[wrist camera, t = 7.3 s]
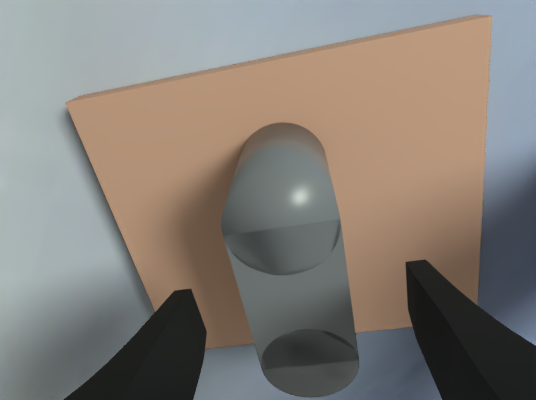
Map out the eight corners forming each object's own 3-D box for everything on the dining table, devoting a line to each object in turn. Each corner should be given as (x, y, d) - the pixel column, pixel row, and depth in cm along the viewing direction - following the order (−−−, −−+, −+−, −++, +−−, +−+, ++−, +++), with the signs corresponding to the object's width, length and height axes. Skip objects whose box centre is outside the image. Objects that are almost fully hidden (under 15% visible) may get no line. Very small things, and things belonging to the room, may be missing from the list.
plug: (320, 115, 15) (333, 163, 11) (349, 322, 20) (366, 414, 16) (230, 131, 16) (207, 183, 11) (279, 329, 21) (277, 421, 16)
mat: (477, 14, 14) (492, 15, 13) (466, 303, 21) (476, 319, 20) (79, 96, 17) (65, 102, 16) (178, 335, 23) (172, 352, 22)
